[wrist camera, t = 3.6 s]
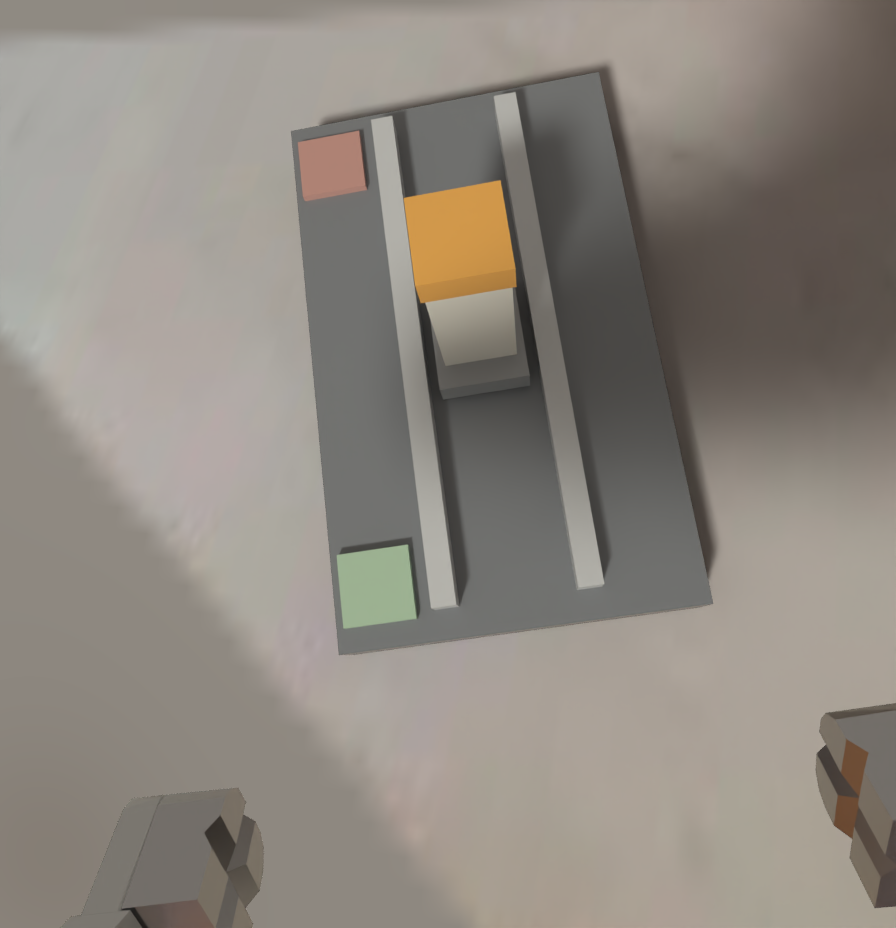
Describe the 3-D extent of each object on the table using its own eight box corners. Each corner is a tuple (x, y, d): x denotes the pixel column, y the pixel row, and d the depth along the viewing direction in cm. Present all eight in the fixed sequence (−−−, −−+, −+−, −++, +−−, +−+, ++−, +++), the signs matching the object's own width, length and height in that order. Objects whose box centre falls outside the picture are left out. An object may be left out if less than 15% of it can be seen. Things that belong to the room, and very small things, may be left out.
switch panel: (700, 607, 26) (720, 601, 23) (353, 654, 27) (330, 655, 24) (594, 108, 31) (600, 51, 28) (306, 162, 32) (282, 113, 29)
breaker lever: (529, 385, 26) (527, 292, 19) (443, 399, 26) (410, 312, 19) (512, 280, 27) (503, 155, 20) (428, 294, 27) (393, 176, 20)
